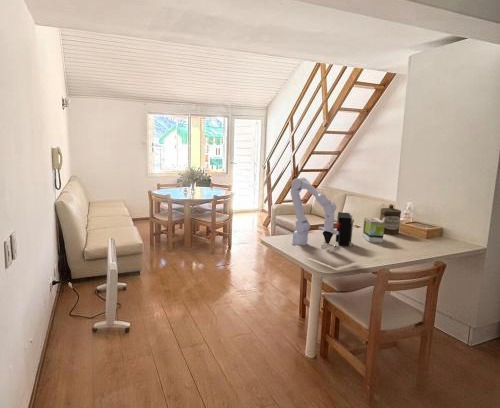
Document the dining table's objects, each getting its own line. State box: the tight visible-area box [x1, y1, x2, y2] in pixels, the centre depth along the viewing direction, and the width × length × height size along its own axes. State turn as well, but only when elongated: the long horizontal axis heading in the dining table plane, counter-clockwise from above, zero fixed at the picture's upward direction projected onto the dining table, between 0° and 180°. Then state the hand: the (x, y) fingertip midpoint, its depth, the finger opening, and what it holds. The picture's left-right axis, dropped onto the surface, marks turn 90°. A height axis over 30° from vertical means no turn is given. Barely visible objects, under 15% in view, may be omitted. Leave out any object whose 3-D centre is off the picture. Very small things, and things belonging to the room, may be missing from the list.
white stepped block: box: [326, 246, 335, 253], centre depth 214 cm, size 4×3×3 cm
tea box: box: [362, 217, 385, 243], centre depth 248 cm, size 15×10×15 cm
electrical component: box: [335, 211, 355, 247], centre depth 232 cm, size 18×10×20 cm, turn 168°
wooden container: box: [379, 204, 402, 236], centre depth 270 cm, size 15×15×22 cm
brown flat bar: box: [323, 241, 338, 248], centre depth 219 cm, size 4×11×1 cm, turn 127°
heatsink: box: [320, 243, 342, 252], centre depth 219 cm, size 11×13×3 cm
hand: (327, 243), depth 217 cm, fingers closed, pressing on brown flat bar
